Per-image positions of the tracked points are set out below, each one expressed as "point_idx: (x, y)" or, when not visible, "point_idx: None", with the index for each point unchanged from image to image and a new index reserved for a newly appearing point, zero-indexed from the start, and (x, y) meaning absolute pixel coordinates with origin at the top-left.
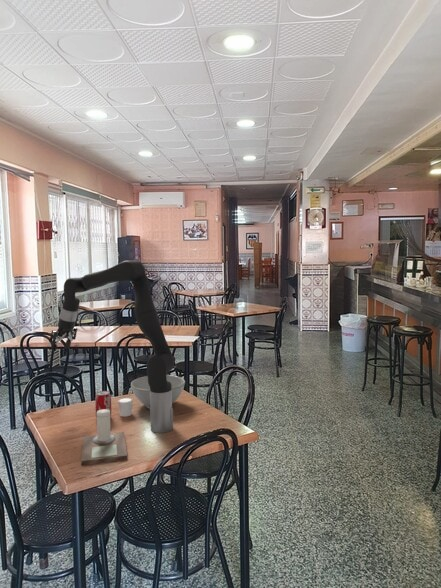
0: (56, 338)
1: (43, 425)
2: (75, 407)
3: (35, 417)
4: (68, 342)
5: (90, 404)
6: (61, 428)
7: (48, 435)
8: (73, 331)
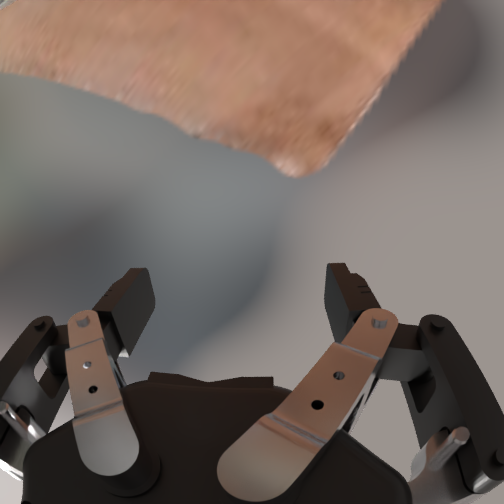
0: (366, 398)
1: (367, 72)
2: (196, 100)
3: (327, 142)
4: (123, 317)
5: (147, 84)
6: (361, 7)
7: (411, 15)
8: (18, 422)
